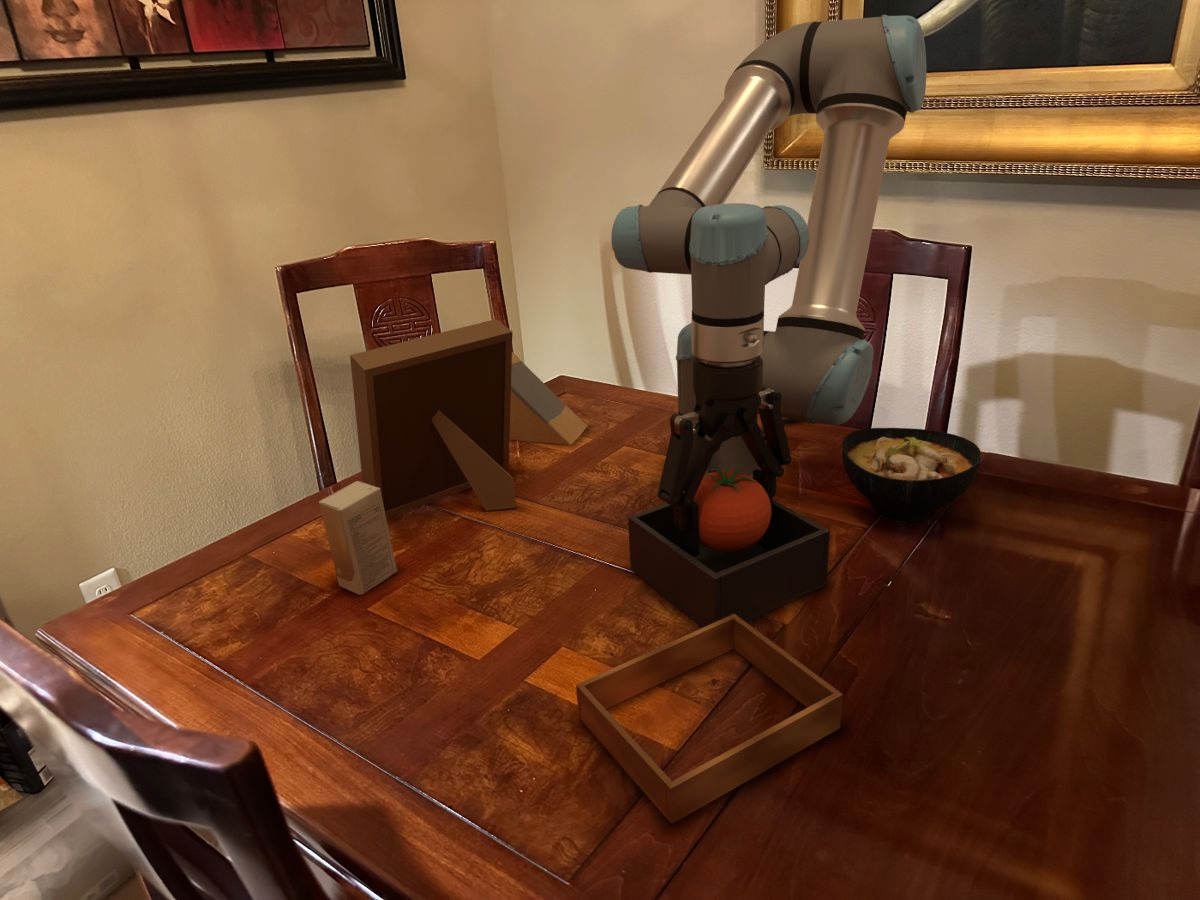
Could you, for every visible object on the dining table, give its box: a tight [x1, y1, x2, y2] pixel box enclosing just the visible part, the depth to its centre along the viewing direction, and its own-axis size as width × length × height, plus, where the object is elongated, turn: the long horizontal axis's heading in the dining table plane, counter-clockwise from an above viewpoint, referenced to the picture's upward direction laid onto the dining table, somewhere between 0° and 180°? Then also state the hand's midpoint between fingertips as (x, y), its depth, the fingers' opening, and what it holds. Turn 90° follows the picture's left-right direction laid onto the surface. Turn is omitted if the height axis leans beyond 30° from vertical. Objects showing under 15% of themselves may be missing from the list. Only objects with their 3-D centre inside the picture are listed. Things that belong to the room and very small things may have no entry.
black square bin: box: [627, 499, 831, 628], centre depth 100 cm, size 17×17×8 cm
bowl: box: [841, 427, 982, 523], centre depth 112 cm, size 17×17×10 cm
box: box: [575, 614, 844, 825], centre depth 78 cm, size 19×15×4 cm
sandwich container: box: [510, 351, 588, 446], centre depth 142 cm, size 9×15×15 cm, turn 71°
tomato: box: [693, 469, 771, 552], centre depth 97 cm, size 10×10×10 cm
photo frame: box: [349, 318, 517, 519], centre depth 117 cm, size 15×22×25 cm
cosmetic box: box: [318, 480, 398, 596], centre depth 103 cm, size 6×4×12 cm
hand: (726, 536), depth 99 cm, fingers closed on tomato, 10 cm apart
